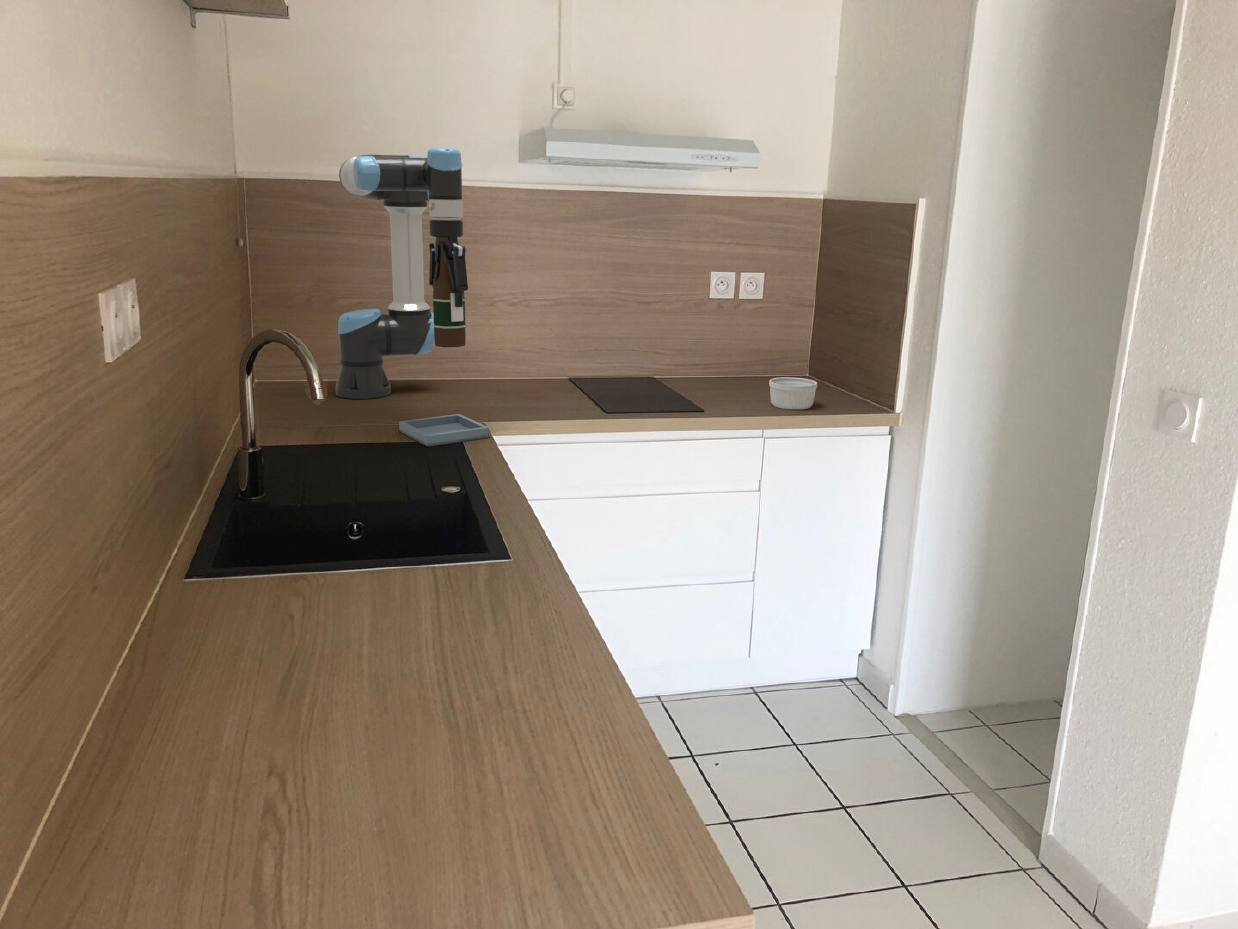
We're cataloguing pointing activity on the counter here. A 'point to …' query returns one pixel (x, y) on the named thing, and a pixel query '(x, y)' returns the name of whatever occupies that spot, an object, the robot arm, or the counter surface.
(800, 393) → the ramekin
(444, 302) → the beer bottle
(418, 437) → the dish
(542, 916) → the counter surface
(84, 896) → the counter surface
